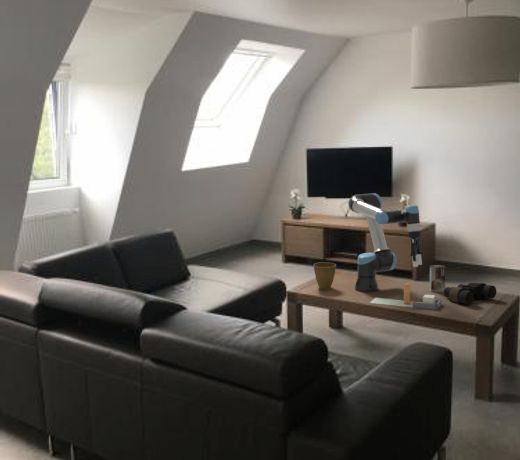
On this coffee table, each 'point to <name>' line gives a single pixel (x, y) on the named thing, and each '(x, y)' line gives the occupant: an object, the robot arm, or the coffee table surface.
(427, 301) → the pull block
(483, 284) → the binoculars
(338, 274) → the coffee table surface
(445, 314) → the coffee table surface
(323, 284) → the plant pot
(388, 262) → the robot arm
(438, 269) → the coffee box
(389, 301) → the lane rack
